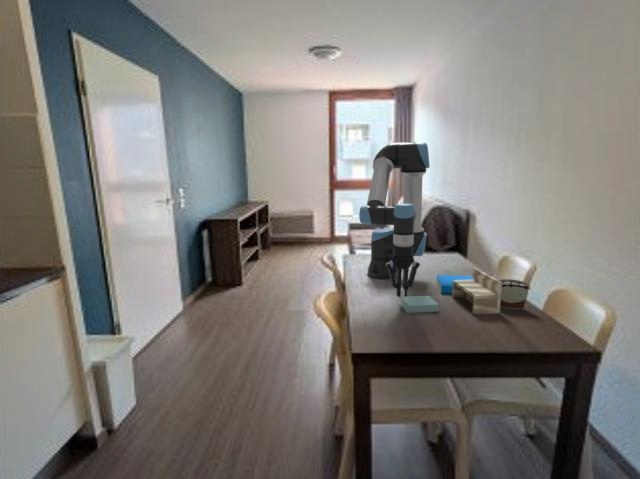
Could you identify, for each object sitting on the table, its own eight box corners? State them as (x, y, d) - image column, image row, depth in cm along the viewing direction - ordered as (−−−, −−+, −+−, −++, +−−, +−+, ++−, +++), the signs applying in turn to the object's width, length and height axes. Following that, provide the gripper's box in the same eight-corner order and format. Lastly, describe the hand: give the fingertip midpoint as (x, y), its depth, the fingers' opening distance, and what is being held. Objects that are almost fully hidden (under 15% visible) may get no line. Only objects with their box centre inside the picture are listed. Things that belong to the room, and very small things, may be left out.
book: (436, 274, 181) (492, 275, 176) (435, 283, 181) (491, 284, 177) (441, 285, 164) (503, 287, 160) (440, 295, 165) (502, 297, 161)
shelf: (452, 296, 161) (453, 269, 158) (474, 295, 161) (476, 268, 159) (474, 314, 141) (476, 283, 139) (499, 313, 142) (502, 282, 140)
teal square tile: (399, 304, 154) (399, 297, 153) (428, 302, 155) (429, 295, 154) (407, 313, 144) (407, 305, 144) (438, 312, 145) (438, 304, 144)
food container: (525, 304, 150) (527, 280, 148) (528, 310, 145) (530, 284, 143) (491, 301, 154) (493, 277, 152) (492, 306, 149) (494, 282, 147)
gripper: (388, 247, 140) (387, 308, 144) (423, 246, 141) (421, 307, 145) (383, 243, 147) (382, 301, 152) (416, 242, 148) (414, 300, 153)
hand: (401, 304), depth 149 cm, fingers closed
